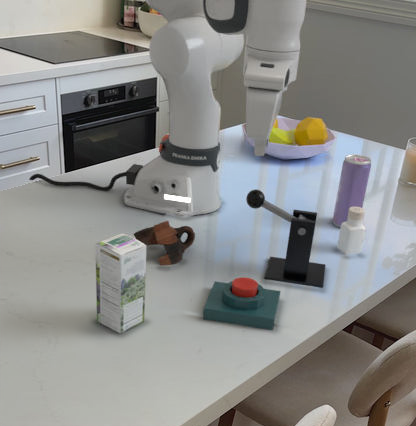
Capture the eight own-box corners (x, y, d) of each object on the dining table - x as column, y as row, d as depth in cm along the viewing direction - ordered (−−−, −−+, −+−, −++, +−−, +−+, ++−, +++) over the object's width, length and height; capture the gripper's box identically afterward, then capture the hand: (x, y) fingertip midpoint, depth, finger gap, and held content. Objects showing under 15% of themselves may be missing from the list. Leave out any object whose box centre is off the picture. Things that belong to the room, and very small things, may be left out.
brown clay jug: (149, 275, 127) (133, 233, 125) (140, 274, 136) (125, 235, 134) (206, 253, 129) (192, 211, 127) (194, 253, 138) (180, 214, 136)
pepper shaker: (335, 249, 140) (343, 206, 135) (351, 247, 142) (360, 204, 136) (344, 257, 137) (353, 214, 132) (361, 255, 139) (371, 212, 133)
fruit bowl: (284, 133, 207) (289, 94, 200) (351, 158, 190) (359, 117, 184) (215, 146, 191) (218, 105, 185) (281, 175, 175) (287, 131, 169)
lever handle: (241, 205, 122) (250, 189, 120) (244, 199, 124) (253, 183, 122) (304, 239, 123) (313, 224, 121) (305, 232, 126) (315, 217, 124)
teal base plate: (203, 319, 114) (204, 298, 112) (213, 291, 122) (215, 272, 120) (272, 330, 113) (275, 309, 110) (278, 301, 121) (281, 282, 118)
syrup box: (121, 309, 115) (120, 231, 106) (145, 322, 112) (147, 242, 104) (96, 321, 111) (93, 241, 103) (121, 335, 108) (120, 254, 100)
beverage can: (358, 231, 149) (372, 164, 140) (331, 227, 150) (343, 161, 141) (358, 221, 154) (372, 156, 145) (332, 217, 154) (344, 152, 146)
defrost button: (229, 296, 114) (230, 287, 113) (233, 284, 117) (234, 275, 116) (255, 300, 113) (256, 291, 112) (258, 288, 117) (259, 279, 116)
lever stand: (264, 282, 126) (272, 221, 119) (269, 261, 134) (277, 203, 126) (322, 291, 125) (333, 229, 118) (324, 269, 132) (335, 210, 125)
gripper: (259, 52, 118) (251, 132, 126) (242, 76, 101) (234, 166, 109) (295, 56, 117) (284, 136, 125) (283, 81, 100) (272, 171, 109)
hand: (261, 150), depth 117 cm, fingers open, 3 cm apart
